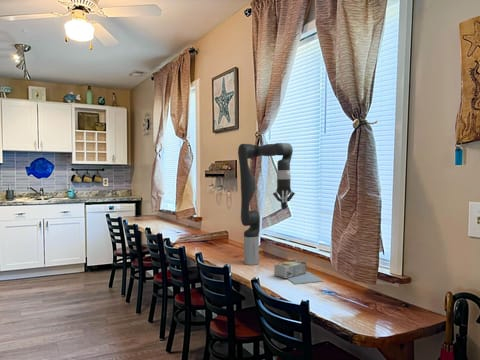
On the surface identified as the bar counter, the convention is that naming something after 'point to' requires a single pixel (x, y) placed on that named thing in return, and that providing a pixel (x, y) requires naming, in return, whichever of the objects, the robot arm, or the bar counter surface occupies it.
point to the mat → (304, 278)
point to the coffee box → (290, 268)
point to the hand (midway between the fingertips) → (283, 208)
